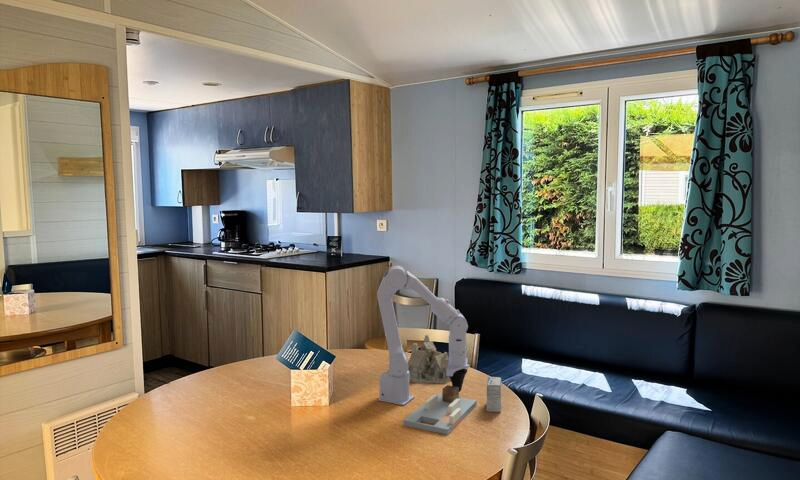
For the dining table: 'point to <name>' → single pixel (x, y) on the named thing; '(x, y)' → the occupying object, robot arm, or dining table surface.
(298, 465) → the dining table surface
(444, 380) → the ceramic cottage
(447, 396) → the block
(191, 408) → the dining table surface
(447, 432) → the deck
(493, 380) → the medicine box
